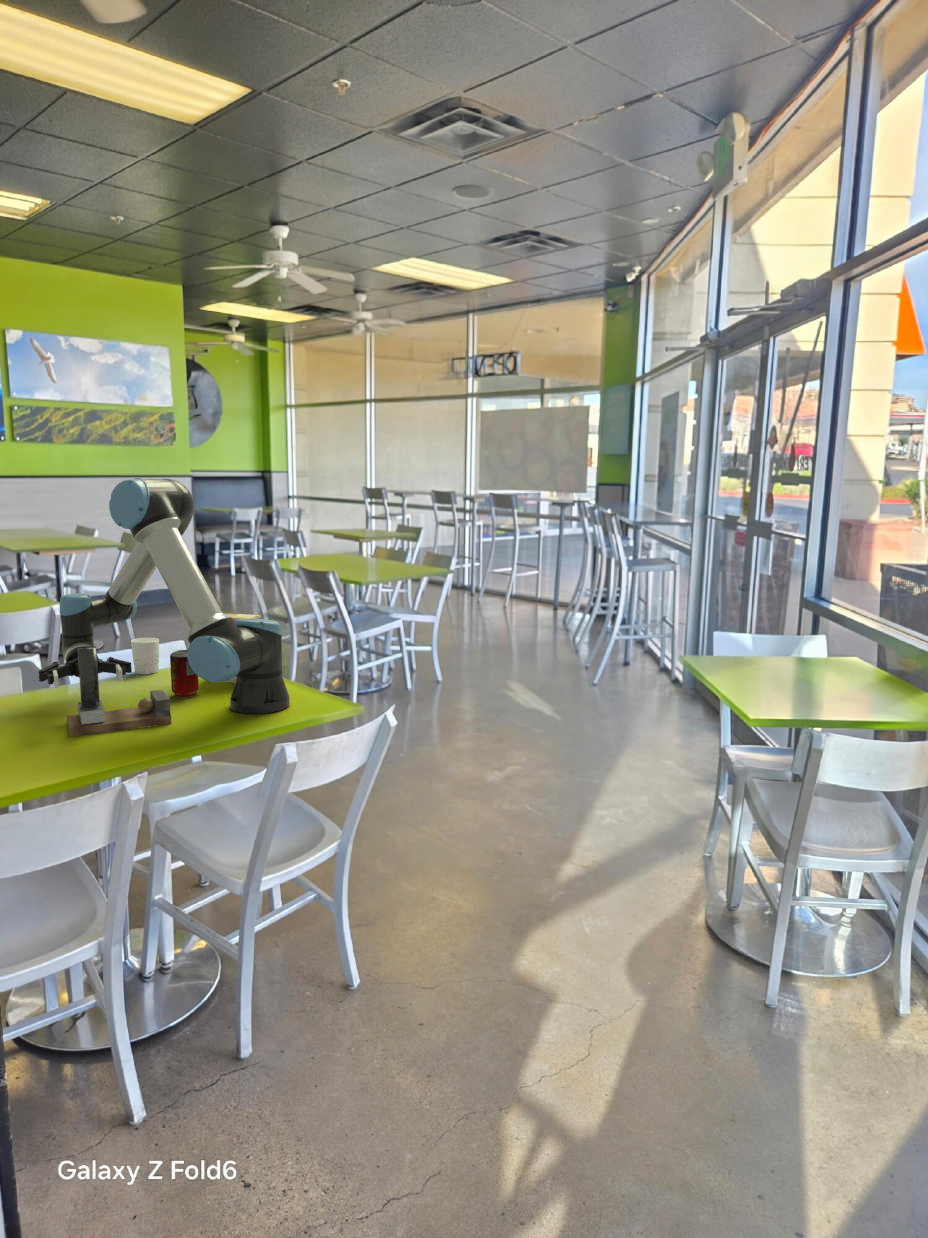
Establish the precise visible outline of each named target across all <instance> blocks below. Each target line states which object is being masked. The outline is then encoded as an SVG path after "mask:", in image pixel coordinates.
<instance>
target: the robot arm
mask: <svg viewBox="0 0 928 1238" xmlns="http://www.w3.org/2000/svg"><path fill="white" fill-rule="evenodd" d="M193 497H194V496H193V495H192V493H191V491H190V490H189V489H188V488H187V486H186V485H184V484H183V483H181V482H180V481H178V480H175V479H169V478H161V479H160V478H158V479H155V478H153V479H151V478H149V479H148V478H145V479H142V478H133V479H124V480H122V481H120V482H119V483H118V484H116V486H114V488H113V490H112V492H111V493H110V498H109V501H108V502H109V503H108V506H109V507H108V508H109V514H110V517H111V519H112V521H114V523H115V524H116V525H117V526H118V527H121V528H123V529H125V530H126V529H127V530H129V531H130V533H131V534H132V537H133V539H134V540H135V541H136V544H135V546H134V547H133V549H132V551H131V552H130V554H129V556H128V557H127V559H126V560H125V562H124V564H123V565H122V567H121V569H119V572H118V574H117V575H116V577H115V578H114V580H113V581H112V583H111V585H110V587H109V588H108V590H107V591H106V592H105V594H104V596H102V597H95V598H91V597H92V596H91V595H90V594H88V593H78V592H77V593H75V592H74V593H67V594H63V595H62V596H60V598H59V616H60V625H61V643H62V648H61V651H62V653H61V654H62V657H63V660H64V661H65V663H64V664H61V662H58V661H53V662H52V663H51V664H50V665H47V666H46V667H44V668H42V669H39V670H38V680H39V682H40V683H41V682H42V683H43V682H45V681H47V684H48V685H53V684H54V688H55V689H58V688H60V687H59V679H63V678H65V677H76V678H79V664H78V650H77V648H79V647H84V646H95V639H94V637H95V636H94V628H95V627H99V626H104V625H105V626H106V625H109V624H116V623H121V622H125V621H128V620H131V619H133V618H134V617H135V615H136V614H137V609H138V603H137V600H138V598H139V596H140V594H141V593H142V591H143V590H144V588H145V587H146V585H147V583H148V582H149V580H150V579H151V577H152V576H153V574H154V573H155V572H156V569H157V570H158V571H159V574H160V575H161V577H162V579H163V581H164V584H165V585H166V587H167V589H168V591H169V592H170V594H171V596H172V598H173V599H174V603H175V605H177V608H178V609H179V611H180V614H181V616H182V617H183V619H184V621H185V623H186V625H187V627H188V628H189V632H188V635H187V638H186V639H187V641H188V643H189V646H188V648H187V650H188V653H189V655H188V656H187V657H188V662H189V665H190V667H191V668H192V670H193V671H194V673H195V674H196V675H197V676H198V678H200V679H201V680H204V681H206V682H209V683H222V682H221V681H227V680H230V679H232V678H234V677H236V681H235V683H234V686H233V689H232V692H231V695H230V699H229V704H230V705H229V707H230V709H231V711H234V712H236V713H241V714H251V715H252V714H253V715H256V714H269V713H270V714H271V713H274V712H279V711H283V710H285V709H287V708H289V706H290V704H291V701H290V694H289V692H288V688H287V686H286V683H285V681H284V677H283V654H282V653H283V650H282V647H283V646H282V638H283V634H282V627H281V624H280V623H279V622H278V621H277V620H271V619H263V618H262V619H237V620H235V622H234V620H233V618H232V617H231V616H228V615H225V614H223V611H222V609H221V608H220V605H219V604H218V602H217V600H216V598H215V596H214V594H213V593H212V591H211V589H210V587H209V584H208V582H207V581H206V580H205V577H204V576H203V574H202V572H201V570H200V567H199V566H198V564H197V562H196V560H195V559H194V556H193V555H192V553H191V550H190V549H189V547H188V545H187V544H186V542H185V540H184V538H183V536H184V534H185V532H186V531H187V529H188V527H189V525H190V524H191V521H192V519H193V516H194V511H195V502H194V501H195V500H194V499H193ZM97 666H98V675H99V674H102V673H105V674H107V673H108V674H115V675H116V677H117V679H118V681H119V682H123V681H124V680H123V678H124V677H123V676H126V675H127V674H132V673H133V671H132V669H133V668H132V662H130V661H126V660H121V659H117V658H115V657H112V656H108V658H106V660H103V659H102V658H99V655H97Z"/></svg>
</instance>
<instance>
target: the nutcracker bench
mask: <svg viewBox="0 0 928 1238" xmlns="http://www.w3.org/2000/svg"><path fill="white" fill-rule="evenodd" d="M149 693H150V698H149V697H143V698H142V699H140V700H139V702H138V704H137V707H132V708H131V707H130V708H122V709H115V710H114V709H113V710H106V711H105V710H104V711H105V722H98V723H90V724H81V721H80V718H79V714H71V715H66V722H67V728H68V732H69V735H70V737H74V738H75V737H80V736H88V735H97V734H103V733H109V732H111V733H112V732H118V731H117V730H120V731H124V730H125V731H126V730H133V729H132V728H135V729H141V728H140V727H143V728H148V726H150V727H155V726H154V725H158V726H165V724H166V725H172V713H171V699H170V697H169V696H168V695H167V693H166V692H165V691H164V689H157V690H150V691H149ZM96 733H97V734H96Z"/></svg>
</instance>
